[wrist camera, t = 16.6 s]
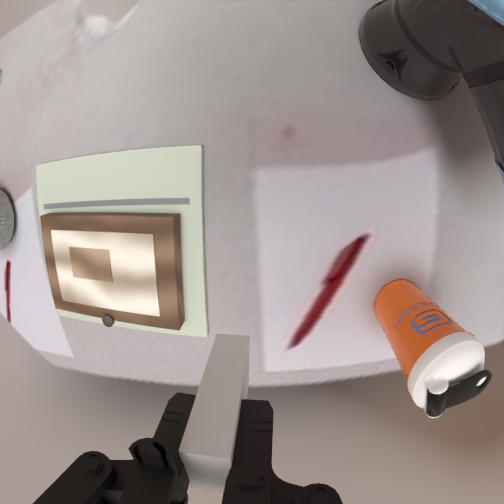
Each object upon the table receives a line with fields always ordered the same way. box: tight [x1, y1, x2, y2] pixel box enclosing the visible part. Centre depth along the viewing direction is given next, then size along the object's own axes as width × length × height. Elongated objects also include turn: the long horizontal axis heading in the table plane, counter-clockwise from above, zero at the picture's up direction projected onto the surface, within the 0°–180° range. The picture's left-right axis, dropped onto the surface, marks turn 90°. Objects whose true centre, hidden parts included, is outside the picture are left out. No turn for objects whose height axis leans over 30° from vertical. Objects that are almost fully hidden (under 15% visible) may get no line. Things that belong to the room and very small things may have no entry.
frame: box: [40, 212, 185, 331], centre depth 36 cm, size 16×22×3 cm
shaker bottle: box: [375, 280, 492, 418], centre depth 28 cm, size 9×9×20 cm
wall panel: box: [36, 145, 209, 337], centre depth 38 cm, size 26×28×1 cm
